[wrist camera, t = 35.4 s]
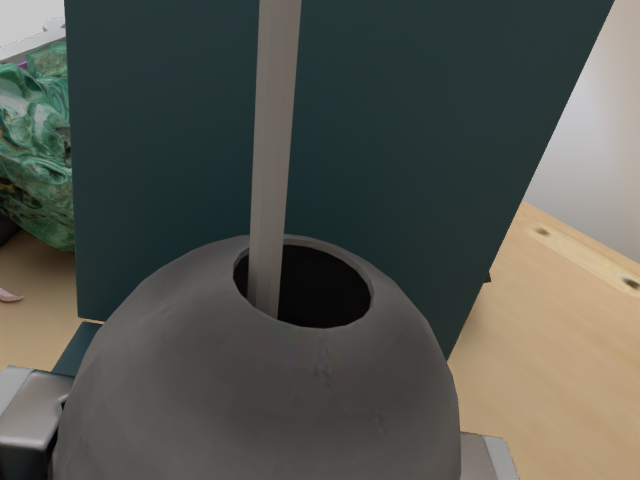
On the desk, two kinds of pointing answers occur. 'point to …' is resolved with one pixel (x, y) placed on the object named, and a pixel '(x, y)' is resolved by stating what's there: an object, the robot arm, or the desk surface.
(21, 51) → the wrench
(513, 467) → the robot arm
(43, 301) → the desk surface
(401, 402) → the beverage cup
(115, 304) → the cooler lid
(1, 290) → the mouse figurine
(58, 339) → the desk surface
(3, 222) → the seashell
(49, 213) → the mineral
